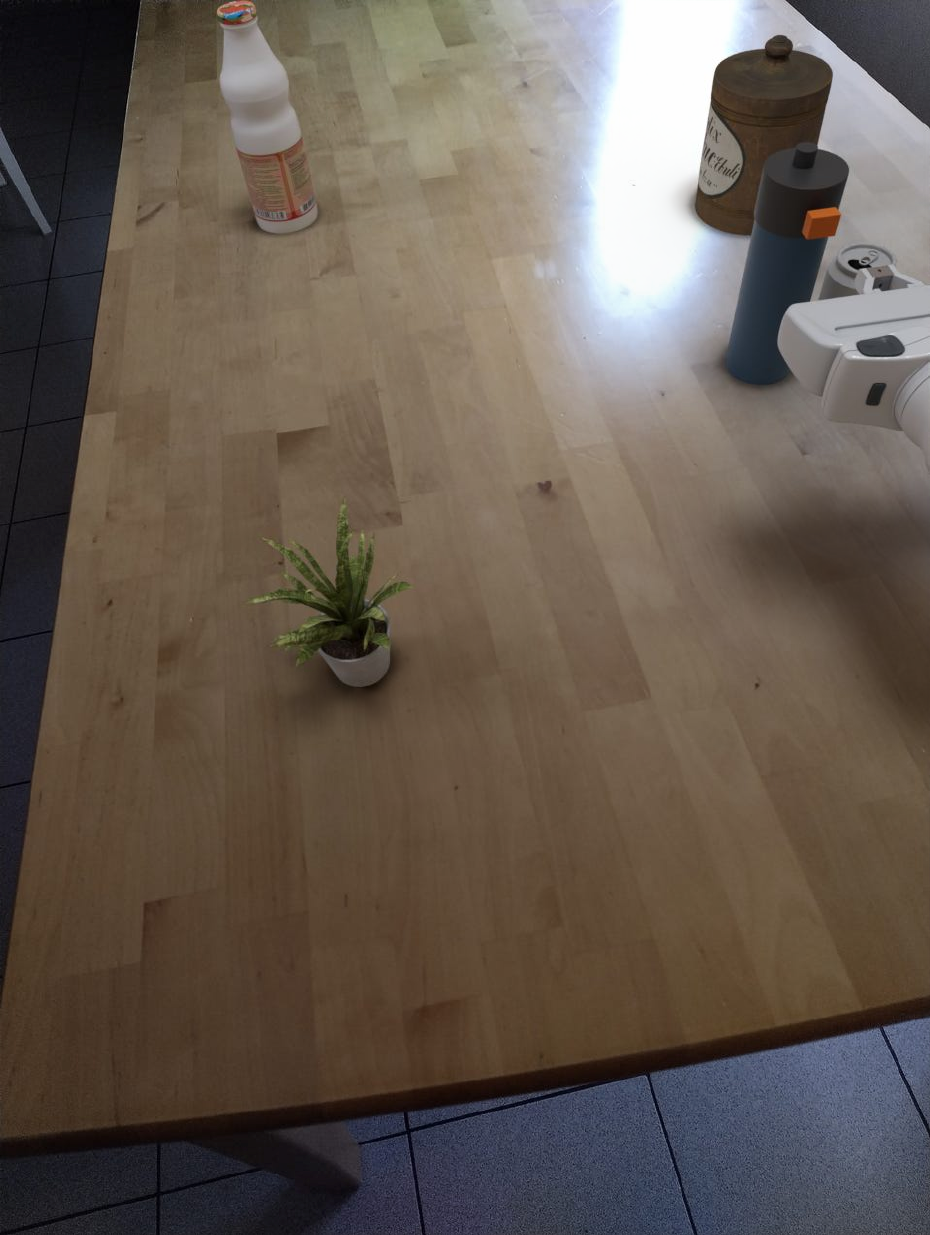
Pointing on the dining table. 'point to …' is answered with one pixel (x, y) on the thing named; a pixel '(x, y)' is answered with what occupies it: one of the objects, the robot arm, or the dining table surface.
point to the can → (852, 268)
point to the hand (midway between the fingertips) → (872, 273)
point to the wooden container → (756, 126)
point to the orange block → (821, 223)
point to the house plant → (340, 611)
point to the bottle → (781, 256)
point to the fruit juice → (264, 124)
